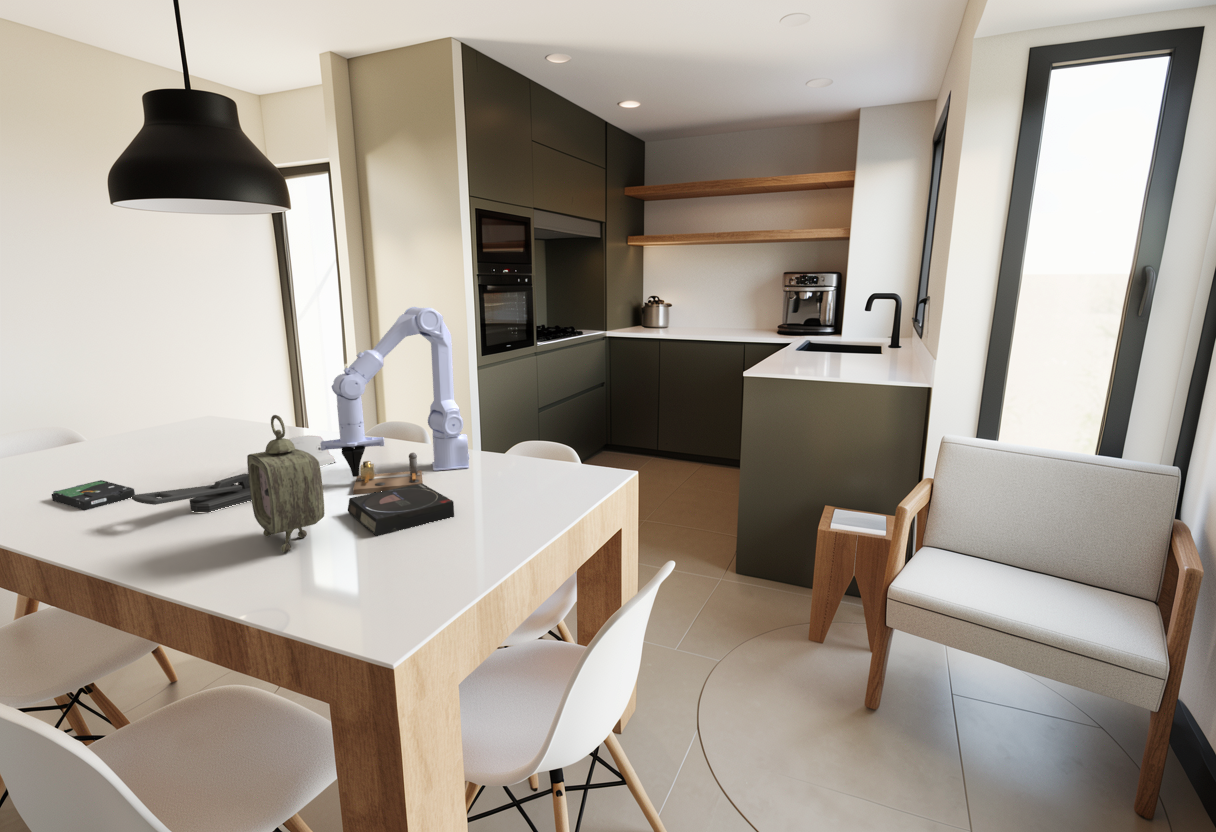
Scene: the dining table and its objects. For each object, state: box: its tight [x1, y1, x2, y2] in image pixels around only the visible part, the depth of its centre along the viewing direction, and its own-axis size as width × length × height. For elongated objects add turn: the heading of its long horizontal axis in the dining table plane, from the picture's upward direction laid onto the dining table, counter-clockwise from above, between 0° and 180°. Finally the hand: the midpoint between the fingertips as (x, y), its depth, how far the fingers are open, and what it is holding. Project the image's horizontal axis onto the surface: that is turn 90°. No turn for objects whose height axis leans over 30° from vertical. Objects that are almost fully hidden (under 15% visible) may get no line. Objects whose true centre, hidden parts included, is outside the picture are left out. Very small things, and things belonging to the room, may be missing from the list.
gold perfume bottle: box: [359, 460, 376, 483], centre depth 152 cm, size 3×7×4 cm, turn 18°
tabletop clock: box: [246, 414, 325, 554], centre depth 117 cm, size 14×9×25 cm, turn 45°
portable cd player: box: [347, 483, 455, 537], centre depth 132 cm, size 16×17×4 cm
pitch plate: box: [352, 452, 424, 495], centre depth 154 cm, size 16×12×7 cm
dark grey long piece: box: [131, 473, 252, 513], centre depth 136 cm, size 9×7×25 cm
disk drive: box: [51, 479, 136, 511], centre depth 143 cm, size 10×3×15 cm
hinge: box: [288, 434, 337, 467], centre depth 167 cm, size 17×5×10 cm, turn 156°
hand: (355, 475), depth 153 cm, fingers closed
